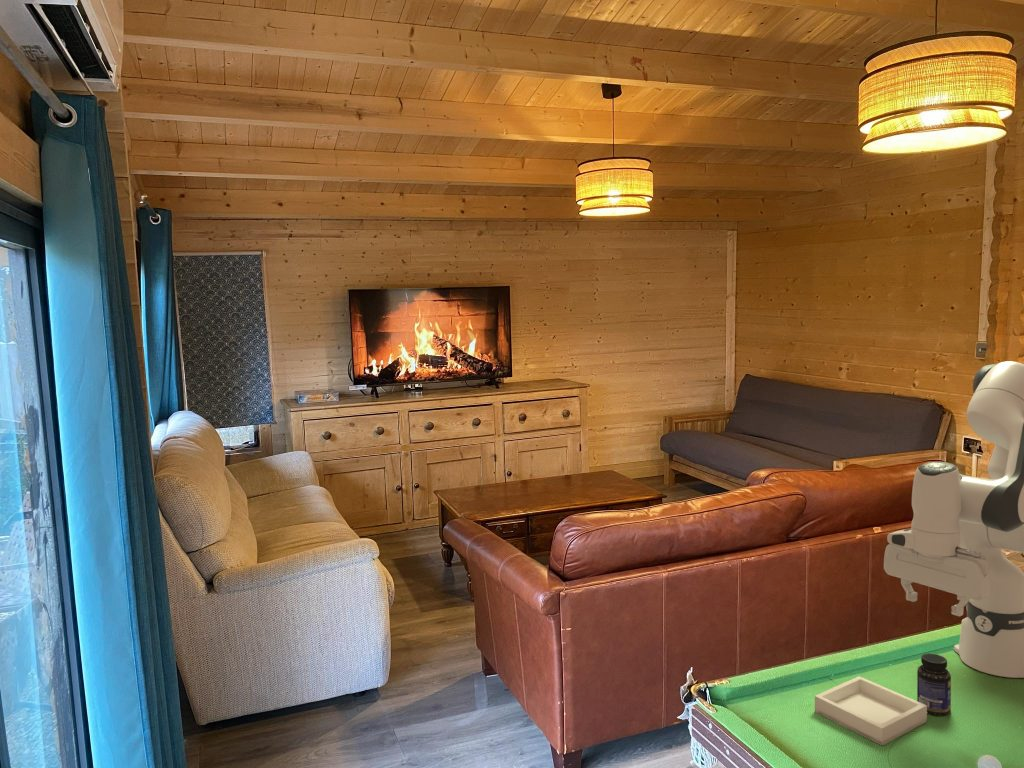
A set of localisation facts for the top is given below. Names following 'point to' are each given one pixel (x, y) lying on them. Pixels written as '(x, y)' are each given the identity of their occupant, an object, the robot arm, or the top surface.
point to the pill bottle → (934, 684)
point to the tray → (871, 710)
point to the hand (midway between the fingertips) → (933, 607)
